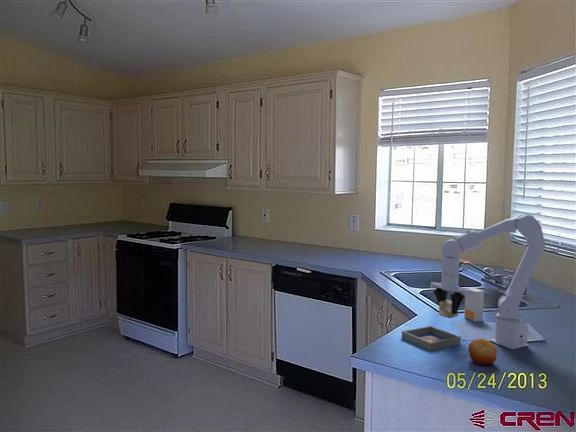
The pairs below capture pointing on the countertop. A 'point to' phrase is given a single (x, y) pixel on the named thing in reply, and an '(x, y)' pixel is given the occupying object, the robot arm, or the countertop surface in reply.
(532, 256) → the robot arm
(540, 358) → the countertop surface
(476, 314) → the skincare box
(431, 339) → the coaster
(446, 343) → the low pen
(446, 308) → the birch block
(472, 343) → the fruit
